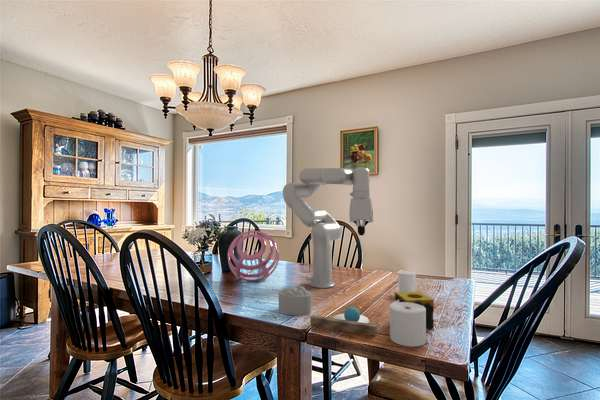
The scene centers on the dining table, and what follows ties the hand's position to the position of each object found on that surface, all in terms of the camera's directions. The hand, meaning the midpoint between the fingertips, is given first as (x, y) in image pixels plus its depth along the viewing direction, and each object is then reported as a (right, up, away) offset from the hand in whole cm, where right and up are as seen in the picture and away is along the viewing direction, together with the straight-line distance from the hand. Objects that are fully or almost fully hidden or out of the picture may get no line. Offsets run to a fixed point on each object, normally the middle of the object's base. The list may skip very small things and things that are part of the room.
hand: (361, 235), depth 151 cm
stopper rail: (-14, -27, -42) cm, 52 cm away
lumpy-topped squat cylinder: (-30, -28, -22) cm, 46 cm away
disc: (-10, -27, -33) cm, 44 cm away
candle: (+11, -27, -37) cm, 47 cm away
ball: (-10, -24, -36) cm, 44 cm away
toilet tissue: (+5, -27, -49) cm, 56 cm away
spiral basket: (-54, -28, +28) cm, 67 cm away
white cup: (+21, -27, 0) cm, 34 cm away
